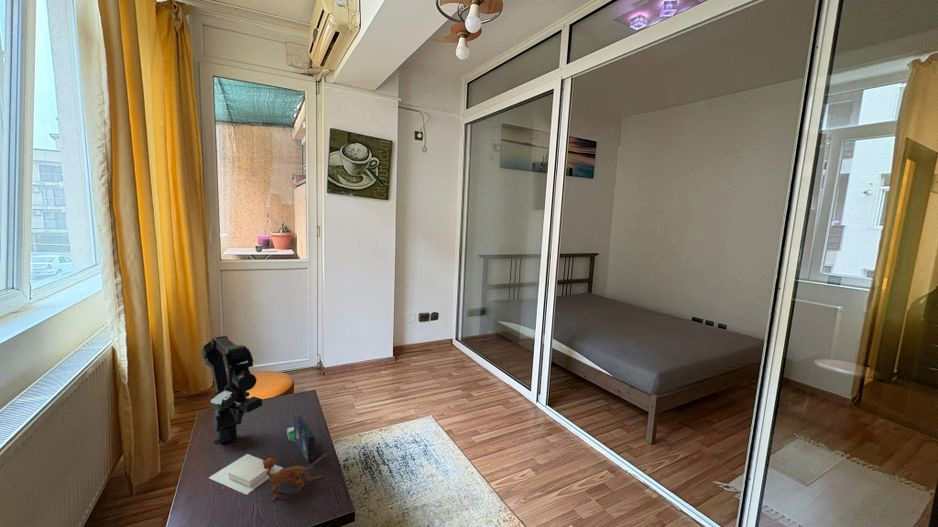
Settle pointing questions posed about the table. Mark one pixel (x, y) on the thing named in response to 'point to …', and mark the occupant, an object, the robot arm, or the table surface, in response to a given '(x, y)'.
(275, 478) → the cat figurine
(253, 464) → the tile
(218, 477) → the mat
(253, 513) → the table surface
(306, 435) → the vhs cassette tape
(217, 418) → the robot arm
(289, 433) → the smartphone
